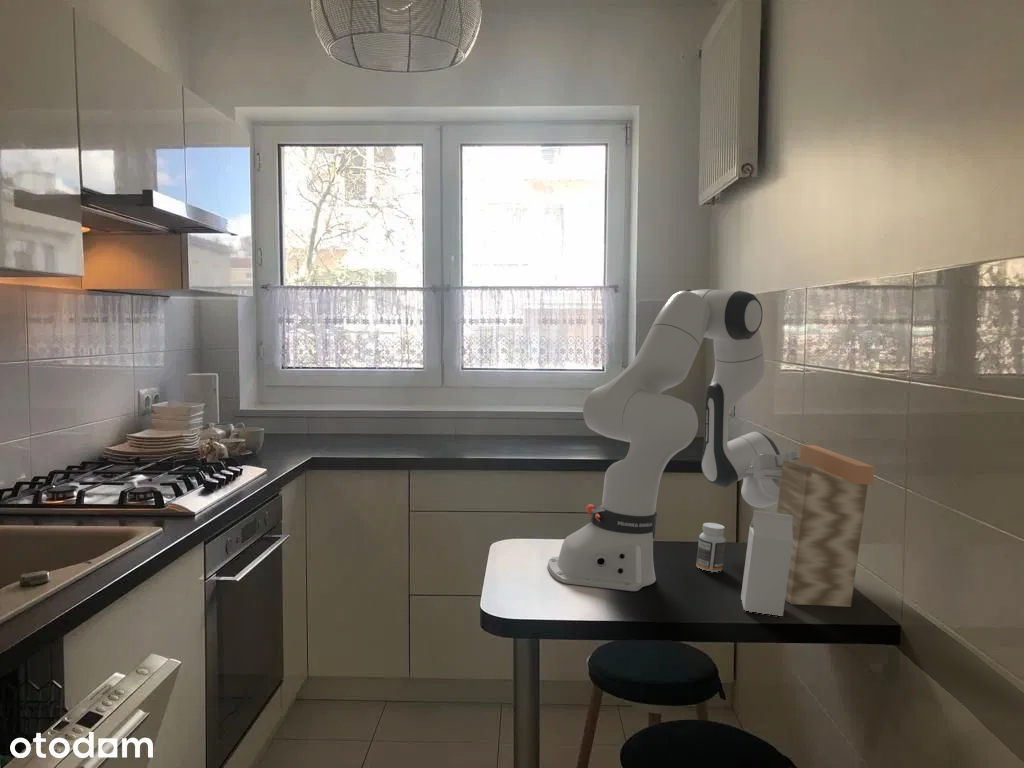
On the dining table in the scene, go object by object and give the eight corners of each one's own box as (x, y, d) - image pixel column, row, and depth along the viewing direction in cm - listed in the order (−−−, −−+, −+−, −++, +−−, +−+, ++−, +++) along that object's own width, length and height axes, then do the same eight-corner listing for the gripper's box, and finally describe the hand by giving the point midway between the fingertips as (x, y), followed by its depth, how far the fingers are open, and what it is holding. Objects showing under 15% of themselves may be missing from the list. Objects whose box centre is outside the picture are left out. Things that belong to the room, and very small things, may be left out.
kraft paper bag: (790, 604, 153) (807, 471, 150) (767, 585, 163) (783, 460, 160) (850, 606, 155) (869, 475, 152) (824, 588, 165) (841, 464, 162)
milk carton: (782, 618, 145) (795, 520, 143) (743, 612, 146) (756, 514, 144) (777, 605, 152) (789, 511, 150) (740, 599, 153) (752, 506, 151)
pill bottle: (717, 565, 173) (722, 522, 172) (725, 574, 168) (730, 530, 167) (692, 563, 173) (697, 520, 172) (699, 572, 168) (704, 528, 167)
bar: (855, 483, 148) (857, 465, 147) (799, 460, 169) (801, 444, 169) (872, 484, 148) (874, 466, 148) (813, 461, 170) (816, 445, 169)
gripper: (740, 459, 178) (767, 439, 166) (822, 466, 181) (855, 446, 169) (743, 486, 176) (771, 467, 163) (826, 491, 179) (860, 474, 166)
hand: (814, 456), depth 166 cm, fingers open, 8 cm apart
